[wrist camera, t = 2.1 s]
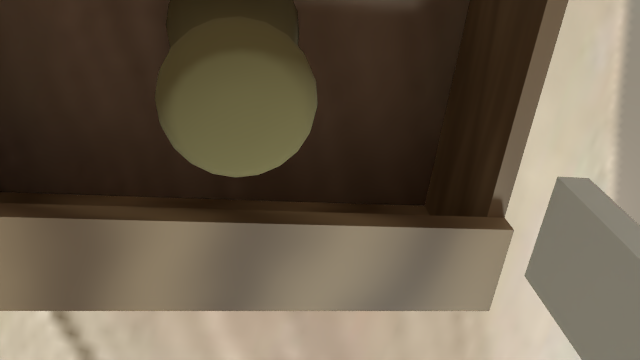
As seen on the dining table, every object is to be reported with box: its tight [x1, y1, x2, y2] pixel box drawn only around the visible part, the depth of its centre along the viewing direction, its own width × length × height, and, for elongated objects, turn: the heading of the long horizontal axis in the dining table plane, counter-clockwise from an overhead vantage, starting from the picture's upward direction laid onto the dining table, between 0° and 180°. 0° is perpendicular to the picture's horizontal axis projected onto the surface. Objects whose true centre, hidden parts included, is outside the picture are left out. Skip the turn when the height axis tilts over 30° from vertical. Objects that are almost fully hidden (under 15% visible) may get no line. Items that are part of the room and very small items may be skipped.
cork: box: [155, 0, 318, 177], centre depth 23 cm, size 6×6×11 cm
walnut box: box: [0, 0, 568, 311], centre depth 24 cm, size 24×20×8 cm
